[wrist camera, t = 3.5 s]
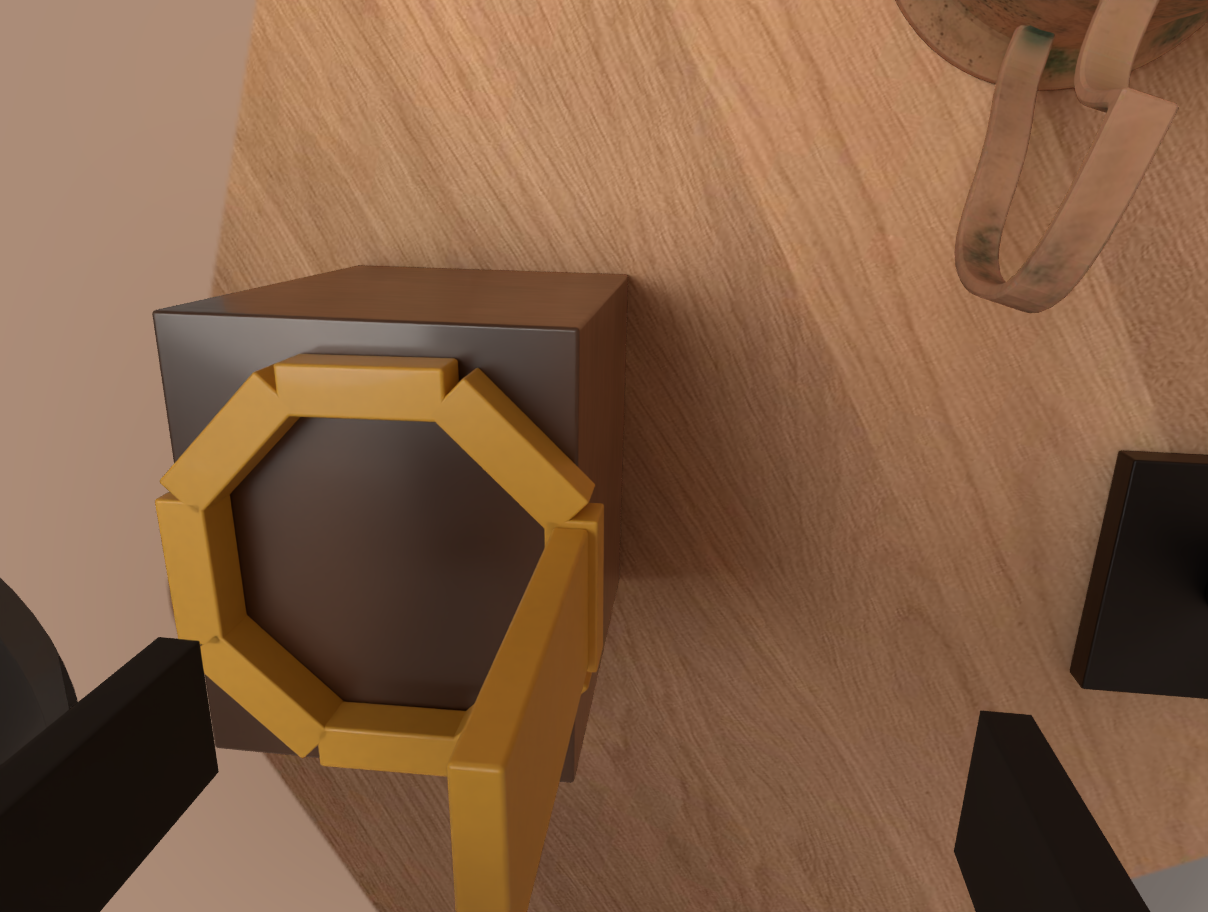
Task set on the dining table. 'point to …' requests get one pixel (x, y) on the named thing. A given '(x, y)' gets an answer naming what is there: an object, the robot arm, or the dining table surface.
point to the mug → (1019, 69)
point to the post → (1149, 581)
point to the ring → (389, 732)
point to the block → (402, 473)
